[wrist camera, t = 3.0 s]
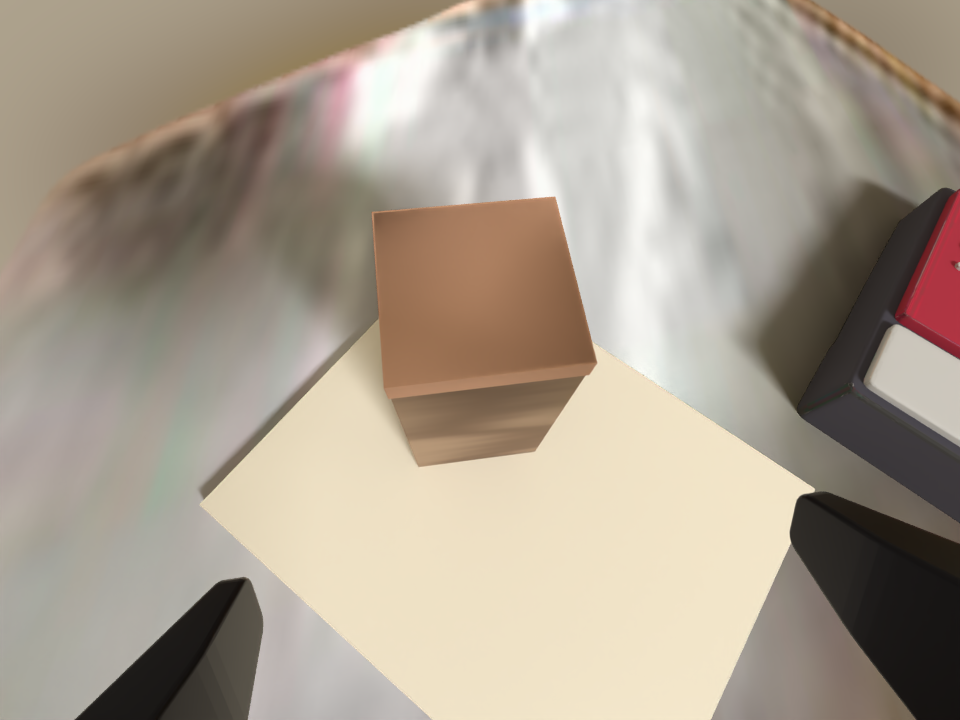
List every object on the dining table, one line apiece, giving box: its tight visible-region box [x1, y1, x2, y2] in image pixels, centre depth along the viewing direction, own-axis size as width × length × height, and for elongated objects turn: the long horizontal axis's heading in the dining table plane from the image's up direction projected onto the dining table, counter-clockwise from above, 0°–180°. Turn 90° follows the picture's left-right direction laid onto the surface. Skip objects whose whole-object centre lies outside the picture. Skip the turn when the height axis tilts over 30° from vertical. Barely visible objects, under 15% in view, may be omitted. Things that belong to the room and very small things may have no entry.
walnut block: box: [372, 197, 597, 467], centre depth 17 cm, size 5×5×10 cm
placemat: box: [199, 318, 815, 720], centre depth 20 cm, size 20×16×1 cm
